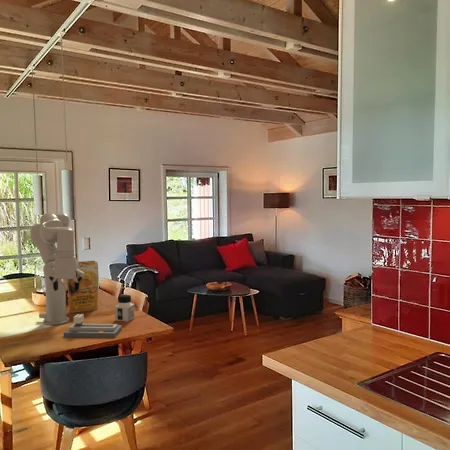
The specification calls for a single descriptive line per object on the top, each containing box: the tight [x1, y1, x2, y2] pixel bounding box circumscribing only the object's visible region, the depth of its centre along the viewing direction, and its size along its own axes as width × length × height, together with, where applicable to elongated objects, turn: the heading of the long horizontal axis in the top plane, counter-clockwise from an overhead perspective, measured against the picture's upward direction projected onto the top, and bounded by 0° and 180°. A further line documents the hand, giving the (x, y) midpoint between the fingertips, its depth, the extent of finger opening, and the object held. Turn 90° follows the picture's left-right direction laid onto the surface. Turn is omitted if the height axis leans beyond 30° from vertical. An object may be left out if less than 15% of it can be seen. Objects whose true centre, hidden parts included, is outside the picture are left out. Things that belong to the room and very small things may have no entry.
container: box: [114, 293, 135, 322], centre depth 223 cm, size 8×8×13 cm
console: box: [63, 323, 123, 338], centre depth 200 cm, size 24×12×4 cm, turn 89°
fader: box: [73, 313, 85, 327], centre depth 200 cm, size 3×5×6 cm, turn 179°
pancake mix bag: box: [65, 260, 100, 314], centre depth 238 cm, size 7×19×28 cm, turn 123°
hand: (66, 290), depth 199 cm, fingers open, 9 cm apart
